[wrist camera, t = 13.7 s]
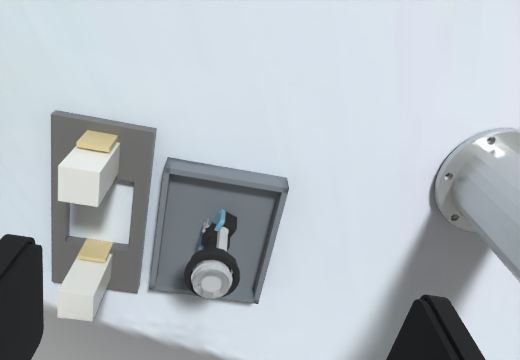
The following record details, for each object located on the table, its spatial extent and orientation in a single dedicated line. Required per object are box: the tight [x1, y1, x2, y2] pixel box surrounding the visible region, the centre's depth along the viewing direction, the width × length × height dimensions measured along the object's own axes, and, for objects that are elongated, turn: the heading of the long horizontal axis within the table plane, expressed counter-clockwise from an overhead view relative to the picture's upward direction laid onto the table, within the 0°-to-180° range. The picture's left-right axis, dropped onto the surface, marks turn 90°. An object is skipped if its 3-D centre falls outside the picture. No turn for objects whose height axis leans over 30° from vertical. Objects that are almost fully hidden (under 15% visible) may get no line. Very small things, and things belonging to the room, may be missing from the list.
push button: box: [184, 209, 240, 299], centre depth 45 cm, size 7×5×10 cm
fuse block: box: [51, 110, 157, 321], centre depth 45 cm, size 10×21×8 cm, turn 168°
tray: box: [149, 157, 289, 304], centre depth 49 cm, size 13×16×2 cm
